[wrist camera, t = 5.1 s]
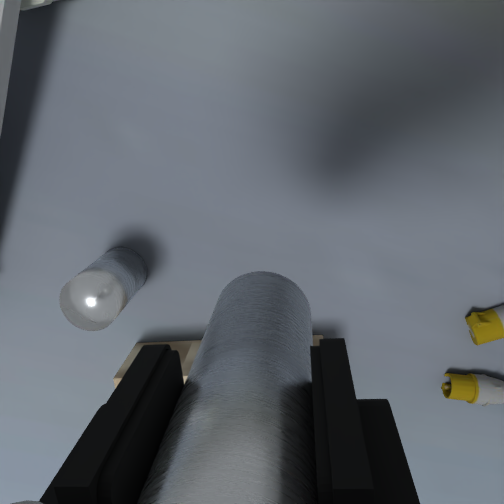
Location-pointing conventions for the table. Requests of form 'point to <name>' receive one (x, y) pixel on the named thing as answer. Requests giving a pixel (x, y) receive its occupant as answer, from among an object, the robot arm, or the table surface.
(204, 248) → the table surface
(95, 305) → the short pin
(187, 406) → the long pin
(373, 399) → the robot arm
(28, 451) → the table surface
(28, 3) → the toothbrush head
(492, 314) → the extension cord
